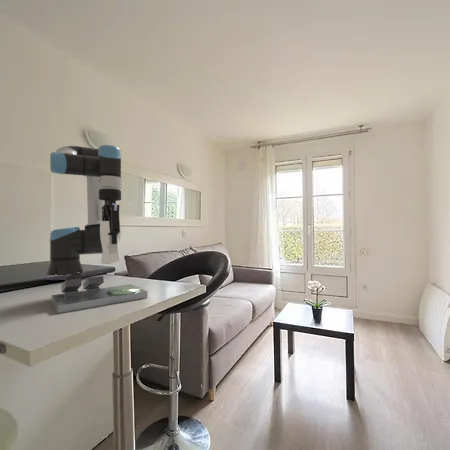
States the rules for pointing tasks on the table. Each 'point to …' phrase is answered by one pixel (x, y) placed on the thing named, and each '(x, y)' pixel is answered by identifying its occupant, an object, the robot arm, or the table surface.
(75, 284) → the rocker tagged
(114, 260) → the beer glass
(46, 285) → the table surface
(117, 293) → the switch panel
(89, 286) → the rocker plain
